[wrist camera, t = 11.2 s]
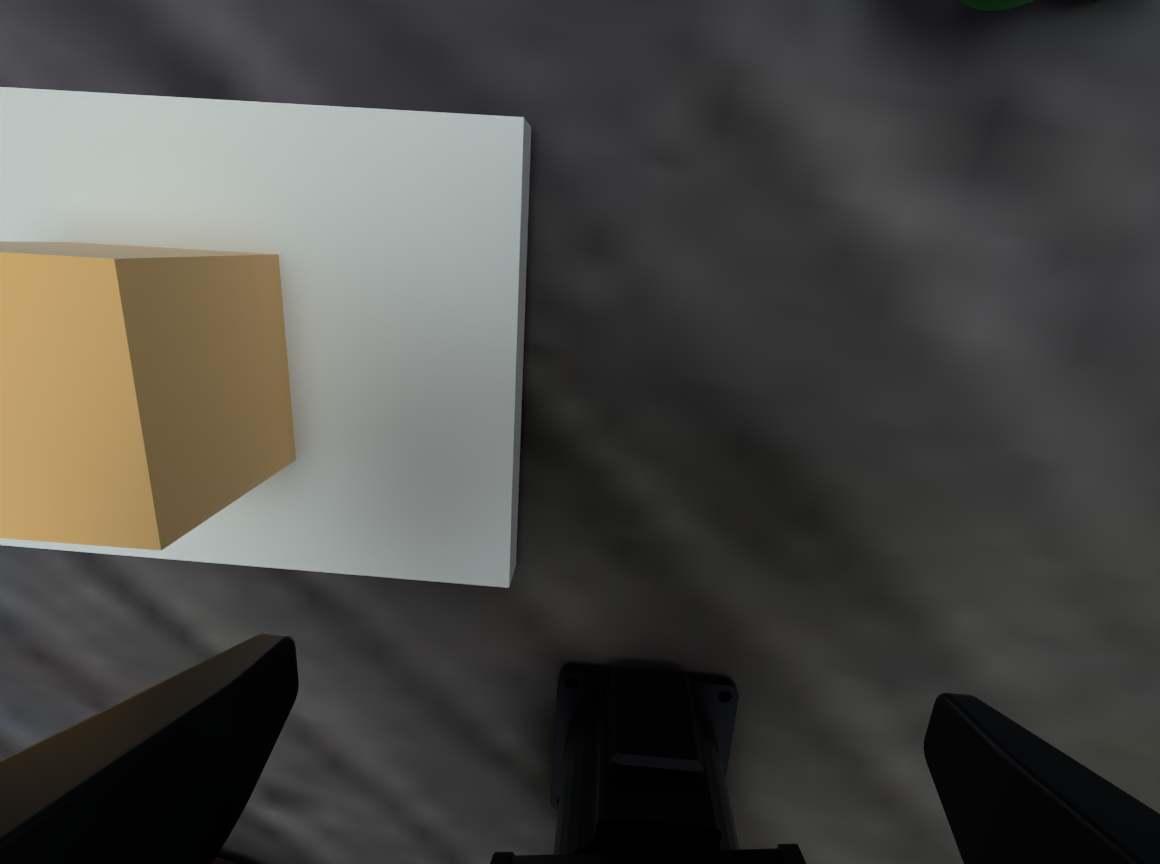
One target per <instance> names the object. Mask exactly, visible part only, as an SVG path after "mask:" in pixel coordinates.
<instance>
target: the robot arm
mask: <svg viewBox="0 0 1160 864" xmlns="http://www.w3.org/2000/svg"><path fill="white" fill-rule="evenodd" d="M569 677H573V678H576V679H577V680H576V681H573V682H572V681H568V680H567V678H569ZM298 685H299V682H298V670H297V658H296V647H295V642H294V639H293V638H292V637H291V636H290V635H285V634H274V633H262V634H259V635H257V636H255V637H253V638H251V639H249V640H247V641H245V642H243V643H241V644H238V645H236V646H234V647H232V648H230V649H228V650H226V651H224V652H222V653H220V654H218V655H216V656H214V657H212V658H210V659H208V660H206V661H204V662H202V663H200V664H198V665H196V666H193V667H191V668H189V669H187V670H185V671H183V672H181V673H179V674H177V675H175V676H173V677H171V678H169V679H167V680H165V681H163V682H161V683H159V684H157V685H155V686H153V687H151V688H149V689H146V690H144V691H142V692H140V693H138V694H136V695H134V696H132V697H130V698H128V699H126V700H124V701H122V702H120V703H118V704H116V705H114V706H112V707H110V708H108V709H106V710H104V711H101V712H99V713H97V714H95V715H93V716H91V717H89V718H87V719H85V720H83V721H81V722H79V723H77V724H75V725H73V726H71V727H69V728H67V729H65V730H63V731H61V732H59V733H57V734H54V735H52V736H50V737H48V738H46V739H44V740H42V741H40V742H38V743H36V744H34V745H32V746H30V747H28V748H26V749H24V750H22V751H20V752H18V753H16V754H14V755H12V756H9V757H7V758H5V759H3V760H1V761H0V864H212V863H213V862H214V860H215V858H216V857H217V855H218V853H219V852H220V850H221V848H222V846H223V845H224V843H225V841H226V840H227V838H228V836H229V835H230V833H231V831H232V829H233V828H234V826H235V824H236V823H237V821H238V819H239V817H240V815H241V814H242V812H243V810H244V808H245V806H246V804H247V802H248V800H249V798H250V796H251V794H252V792H253V790H254V788H255V786H256V784H257V782H258V780H259V777H260V775H261V773H262V771H263V769H264V767H265V765H266V762H267V760H268V758H269V756H270V754H271V752H272V750H273V747H274V745H275V743H276V741H277V739H278V737H279V735H280V732H281V730H282V728H283V726H284V724H285V722H286V720H287V717H288V715H289V713H290V711H291V709H292V707H293V704H294V702H295V700H296V697H297V693H298ZM721 691H728V693H727V694H725V695H720V694H718V693H720V692H721ZM737 704H738V691H737V687H736V685H735V683H734V682H733V681H732V680H730V679H728V678H723V677H712V676H701V675H689V674H680V673H669V672H657V671H646V670H635V669H623V668H610V667H599V666H587V665H576V664H570V665H566V666H564V667H563V668H562V669H561V670H560V672H559V677H558V688H557V705H556V721H555V737H554V754H553V770H552V786H551V804H552V806H553V807H554V808H555V809H557V810H558V816H557V826H556V836H555V846H554V855H518V856H514V853H513V852H495V853H494V855H493V858H492V860H491V863H490V864H806V862H805V860H804V858H803V855H802V853H801V851H800V849H799V846H798V844H778V846H777V848H773V849H739V845H738V840H737V835H736V830H735V826H734V821H733V816H732V811H731V806H730V801H729V796H728V792H727V787H726V782H725V776H726V770H727V764H728V758H729V752H730V746H731V740H732V734H733V728H734V722H735V716H736V710H737ZM924 754H925V758H926V762H927V765H928V767H929V770H930V773H931V776H932V778H933V781H934V784H935V786H936V789H937V792H938V795H939V797H940V800H941V803H942V805H943V808H944V811H945V814H946V816H947V819H948V822H949V825H950V827H951V830H952V833H953V835H954V838H955V841H956V844H957V846H958V849H959V852H960V854H961V857H962V860H963V862H964V864H1160V814H1159V813H1157V812H1156V811H1154V810H1153V809H1151V808H1150V807H1148V806H1146V805H1145V804H1143V803H1142V802H1140V801H1139V800H1137V799H1135V798H1134V797H1132V796H1131V795H1129V794H1128V793H1126V792H1124V791H1123V790H1121V789H1120V788H1118V787H1116V786H1115V785H1113V784H1112V783H1110V782H1109V781H1107V780H1105V779H1104V778H1102V777H1101V776H1099V775H1098V774H1096V773H1094V772H1093V771H1091V770H1090V769H1088V768H1087V767H1085V766H1083V765H1082V764H1080V763H1079V762H1077V761H1075V760H1074V759H1072V758H1071V757H1069V756H1068V755H1066V754H1064V753H1063V752H1061V751H1060V750H1058V749H1057V748H1055V747H1053V746H1052V745H1050V744H1049V743H1047V742H1046V741H1044V740H1042V739H1041V738H1039V737H1038V736H1036V735H1035V734H1033V733H1031V732H1030V731H1028V730H1027V729H1025V728H1023V727H1022V726H1020V725H1019V724H1017V723H1016V722H1014V721H1012V720H1011V719H1009V718H1008V717H1006V716H1005V715H1003V714H1001V713H1000V712H998V711H997V710H995V709H994V708H992V707H990V706H989V705H987V704H986V703H984V702H982V701H981V700H979V699H978V698H976V697H974V696H971V695H964V694H953V693H943V694H940V695H939V696H938V697H937V698H936V701H935V703H934V707H933V710H932V714H931V717H930V721H929V725H928V728H927V732H926V735H925V739H924Z"/></svg>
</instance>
